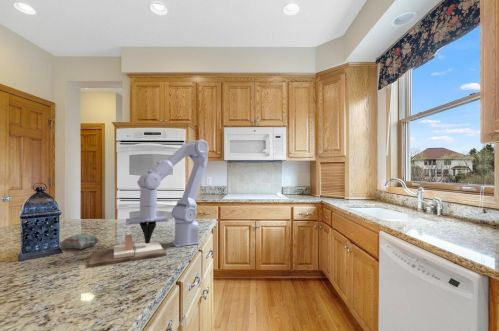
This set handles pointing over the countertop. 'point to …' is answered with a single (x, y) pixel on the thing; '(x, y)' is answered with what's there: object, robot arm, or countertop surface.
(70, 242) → the packaged food
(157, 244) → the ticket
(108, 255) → the board
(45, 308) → the countertop surface
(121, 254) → the stub
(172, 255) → the countertop surface
